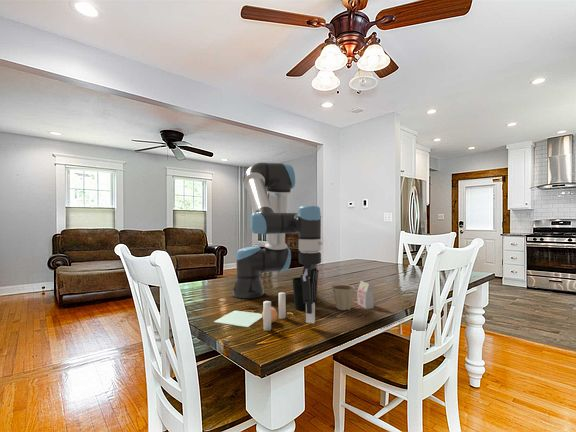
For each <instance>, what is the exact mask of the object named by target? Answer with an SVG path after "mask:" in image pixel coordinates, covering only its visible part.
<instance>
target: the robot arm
mask: <svg viewBox="0 0 576 432" xmlns="http://www.w3.org/2000/svg"><path fill="white" fill-rule="evenodd" d="M295 173H296V172H295V169H294V167H293V166H292V165H291V164H289V163H275V162H273V163H272V162H257V163H253V164H252V165H251V166H250V167H248V168H247V169H246V170H245V172H244V175H243V178H242V179H243V180H242V181H243V186H244V188H245V190H247V193H248V196H249V201H250V204H251V208H252V212H251V214H250V217H249V226H250V227H249V228H250V232H251V233H252V234H257V235H258V234H260V235H267V242H266V243H265V244H264V248H261V247H260V246H258V245H255V246H247V247H243V248H239V249H238V250H237V251H236V259H235V261H236V281H235V283H234V287H233V290H232V296H233V297H235V298H238V299H255V298H259V297H263V295H264V294H265V288H264V285H263V283H262V280H261V273H274V272H277V273H280V272H285V271H287V270H288V269H289V268H290V265H291V261H292V253H291V251H292V250H291V249H290V248H288V244H286V234H298V251H299V253H298V264H300V265H303V269H302V274H301V275H300V277H301V282H302V292H303V303H306V310H305V323H306V324H307V323H308V324H315V322H316V304H315V303H318V299H317V298H318V280H319V269H318V268H317V265H320V264H321V263H322V253H321V252H320V251H321V250H322V246H321V245H323V242H322V240H321V239H322V237H321V236H322V235H321V234H322V232H321V231H322V230H321V229H322V226H321V225H322V214H321V207H319V206H318V205H300V206H299V207H298V212H287V208H288V207H287V206H288V195H289V194H290V193H291V191H292V189H294V188H295V186H296V174H295Z"/></svg>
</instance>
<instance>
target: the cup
mask: <svg viewBox="0 0 576 432" xmlns="http://www.w3.org/2000/svg"><path fill="white" fill-rule="evenodd" d="M291 281H292V290H293V300H294V308H295V310H296V311H306V303H303V292H302V282H301V276H300V277H292V279H291Z"/></svg>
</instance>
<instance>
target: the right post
mask: <svg viewBox="0 0 576 432" xmlns="http://www.w3.org/2000/svg"><path fill="white" fill-rule="evenodd" d="M286 300H287V299H286V292H284V291H283V292H278V319H280V320H281V319H283V320H284V319H286V317H287V314H286V313H287V312H286V306H287V305H286Z"/></svg>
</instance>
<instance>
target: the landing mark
mask: <svg viewBox="0 0 576 432" xmlns="http://www.w3.org/2000/svg"><path fill="white" fill-rule="evenodd" d="M261 319H263V318H262V313H257V312H251V311H244V310H243V311H241V310H233V311H231V312H229V313H227V314H225V315H224V316H222V317H220V318H218V319H216V320H214V321H213V323H216V324H221V325H222V324H223V325H230V326H237V327H243V328H249V327H251V326H252V325H253V324H255V323H257V322H258V321H259V320H261Z"/></svg>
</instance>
